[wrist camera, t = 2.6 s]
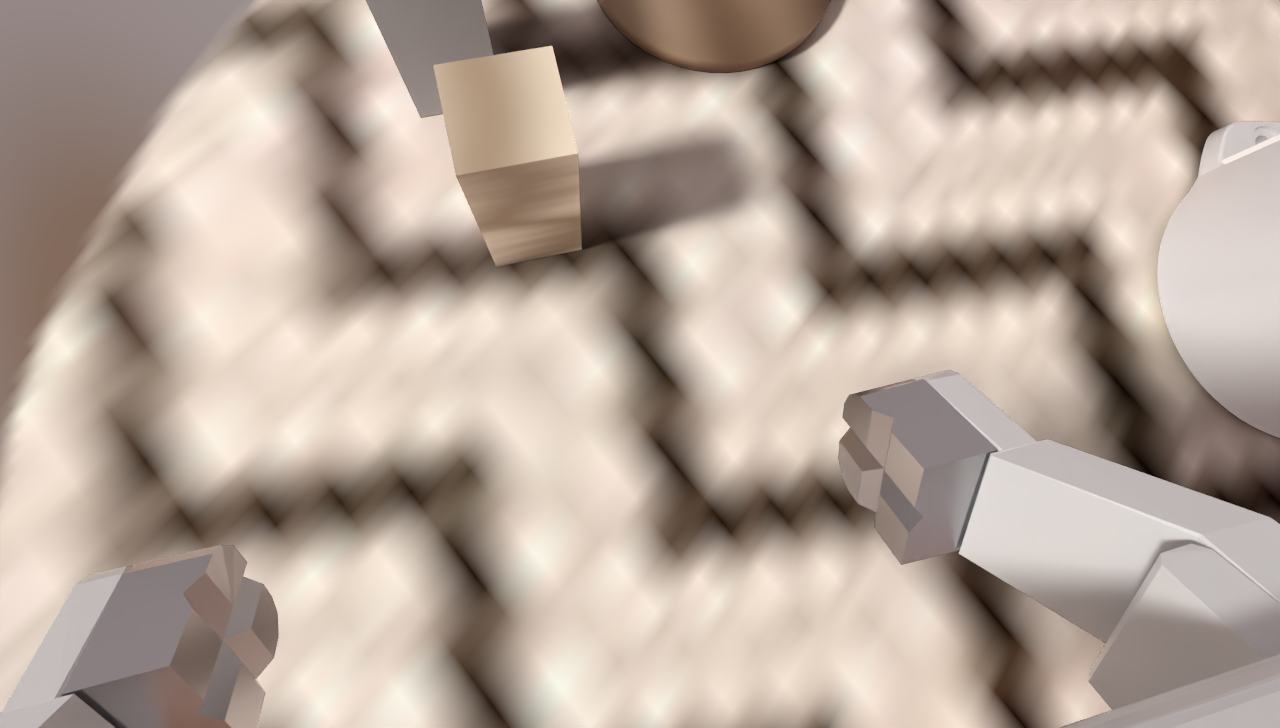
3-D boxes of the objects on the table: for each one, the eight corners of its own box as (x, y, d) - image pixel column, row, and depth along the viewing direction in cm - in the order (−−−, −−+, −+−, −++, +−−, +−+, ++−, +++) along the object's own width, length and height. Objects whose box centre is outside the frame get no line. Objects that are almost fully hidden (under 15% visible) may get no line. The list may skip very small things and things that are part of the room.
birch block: (563, 171, 30) (552, 45, 22) (581, 249, 30) (578, 153, 21) (479, 187, 30) (433, 64, 21) (496, 266, 29) (456, 175, 20)
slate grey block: (488, 30, 31) (448, -146, 23) (504, 103, 31) (470, -48, 22) (405, 43, 31) (332, -131, 22) (420, 117, 30) (351, -31, 21)
